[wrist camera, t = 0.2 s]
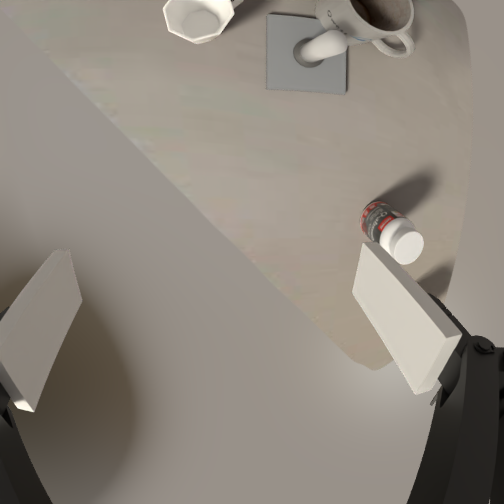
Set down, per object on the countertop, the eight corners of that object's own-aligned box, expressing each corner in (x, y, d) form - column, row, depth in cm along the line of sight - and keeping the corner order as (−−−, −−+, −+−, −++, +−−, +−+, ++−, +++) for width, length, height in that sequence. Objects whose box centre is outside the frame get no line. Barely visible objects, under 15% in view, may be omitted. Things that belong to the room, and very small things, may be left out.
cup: (160, 26, 29) (148, 8, 22) (227, -18, 27) (232, -43, 20) (194, 64, 32) (190, 54, 25) (261, 20, 30) (274, 2, 23)
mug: (300, 7, 30) (327, -17, 21) (346, -18, 28) (381, -42, 19) (357, 79, 35) (397, 76, 26) (398, 51, 33) (442, 45, 24)
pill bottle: (365, 196, 42) (401, 222, 34) (396, 204, 44) (433, 231, 35) (353, 232, 45) (384, 265, 36) (383, 238, 46) (416, 270, 37)
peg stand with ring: (266, 16, 30) (284, -9, 21) (342, 25, 31) (379, 8, 22) (265, 89, 34) (284, 85, 25) (342, 94, 35) (380, 95, 27)
